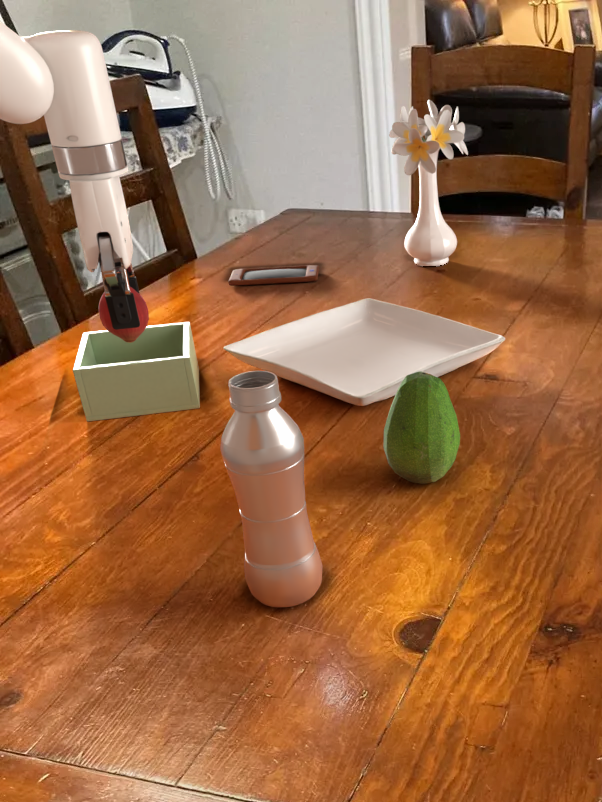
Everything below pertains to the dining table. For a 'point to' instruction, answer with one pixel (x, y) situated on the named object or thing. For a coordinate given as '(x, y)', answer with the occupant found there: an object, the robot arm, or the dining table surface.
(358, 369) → the square plate
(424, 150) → the flower vase
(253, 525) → the plastic bottle
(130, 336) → the onion
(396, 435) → the avocado
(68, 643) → the dining table surface
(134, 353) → the veg bin
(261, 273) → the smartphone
